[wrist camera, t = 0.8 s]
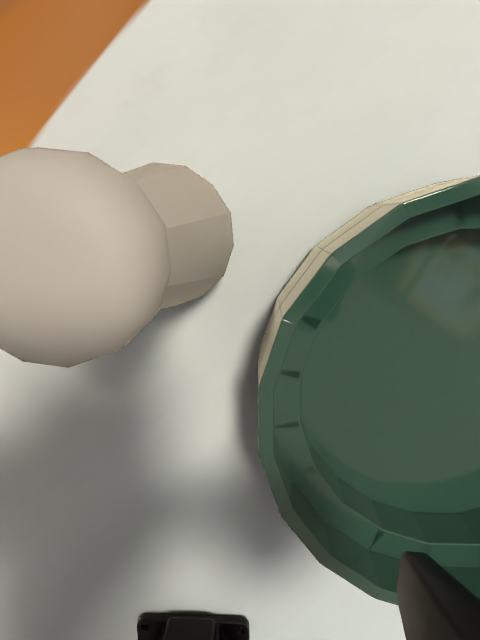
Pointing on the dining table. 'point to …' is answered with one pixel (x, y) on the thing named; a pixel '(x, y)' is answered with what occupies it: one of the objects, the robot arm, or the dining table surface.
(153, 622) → the robot arm
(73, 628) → the dining table surface
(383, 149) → the dining table surface
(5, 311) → the salt shaker
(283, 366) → the shallow green tray
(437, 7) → the dining table surface
